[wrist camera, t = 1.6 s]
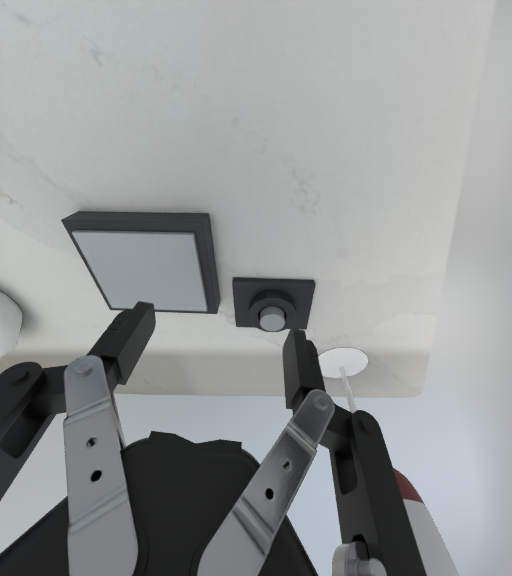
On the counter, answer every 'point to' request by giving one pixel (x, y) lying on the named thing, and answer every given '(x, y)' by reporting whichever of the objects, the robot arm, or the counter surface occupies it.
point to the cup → (9, 324)
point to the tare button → (272, 318)
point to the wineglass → (395, 471)
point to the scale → (149, 259)
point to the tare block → (272, 300)
